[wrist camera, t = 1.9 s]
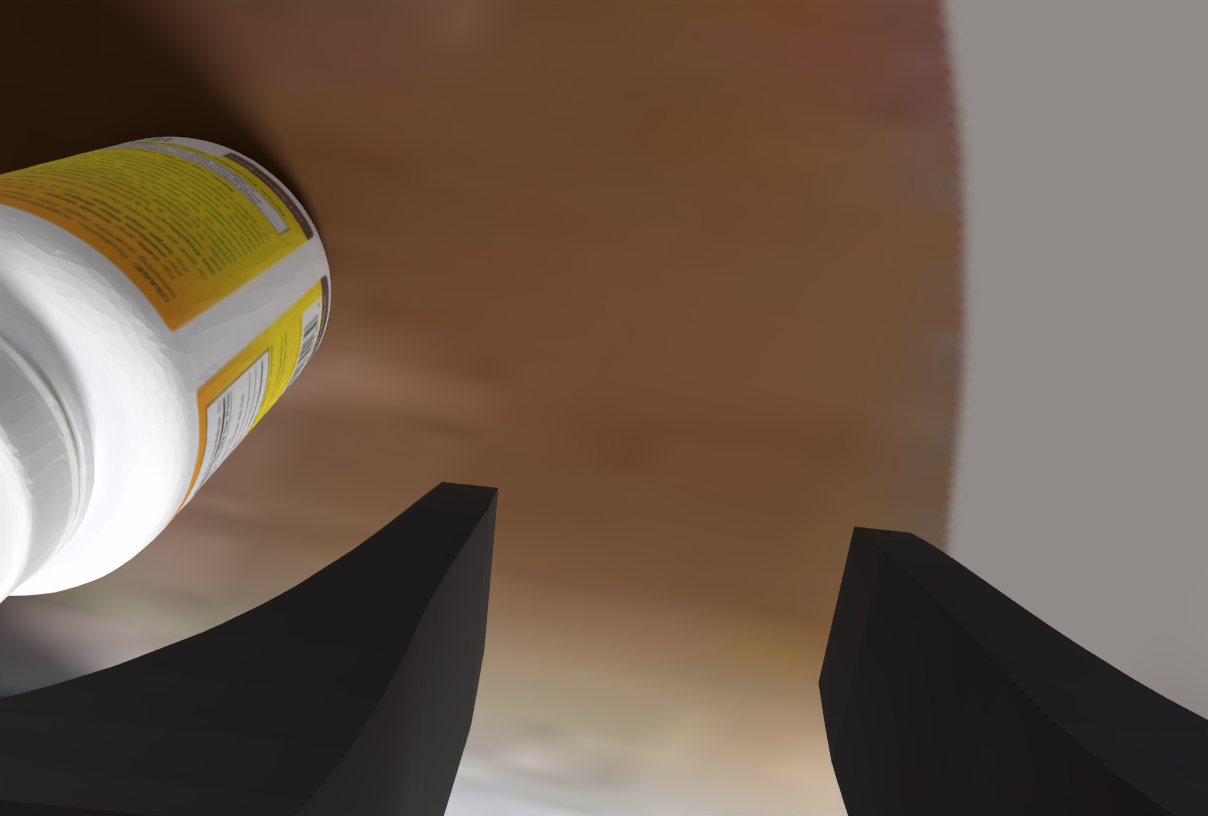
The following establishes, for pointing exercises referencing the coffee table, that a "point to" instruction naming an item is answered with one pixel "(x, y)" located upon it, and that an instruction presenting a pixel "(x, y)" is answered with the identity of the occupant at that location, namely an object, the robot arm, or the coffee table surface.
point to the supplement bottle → (139, 342)
